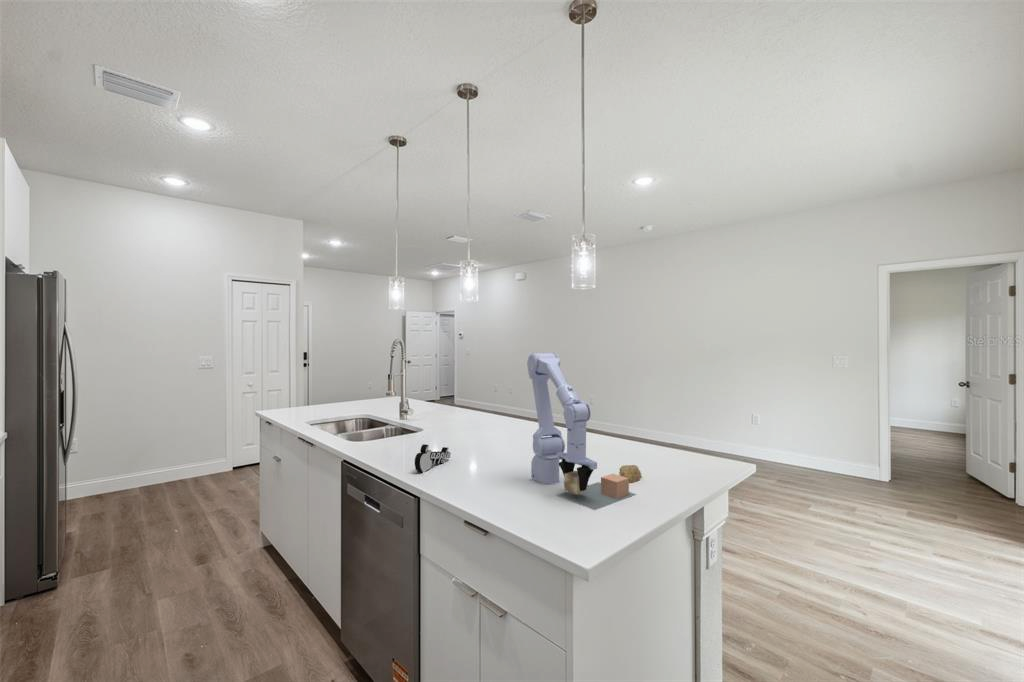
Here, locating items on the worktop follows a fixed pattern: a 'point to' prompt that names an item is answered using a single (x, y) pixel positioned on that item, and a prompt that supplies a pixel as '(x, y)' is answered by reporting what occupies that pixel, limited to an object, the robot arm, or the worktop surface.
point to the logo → (430, 458)
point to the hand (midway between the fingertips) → (575, 487)
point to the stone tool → (630, 473)
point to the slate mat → (593, 497)
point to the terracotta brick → (615, 486)
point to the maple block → (572, 483)
